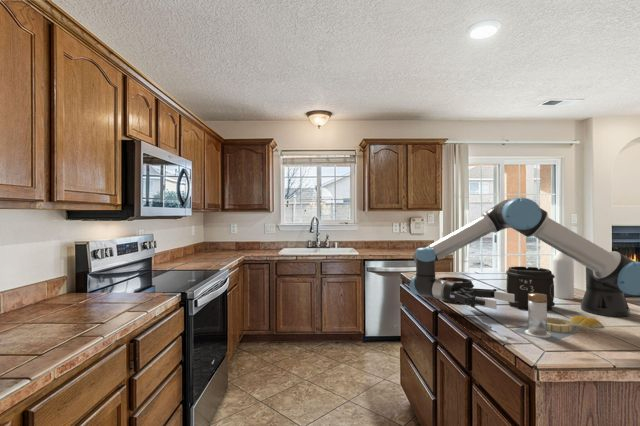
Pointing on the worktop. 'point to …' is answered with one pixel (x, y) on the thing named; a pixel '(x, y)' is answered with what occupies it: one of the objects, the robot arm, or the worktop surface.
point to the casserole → (459, 281)
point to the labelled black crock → (529, 285)
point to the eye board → (554, 334)
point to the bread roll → (586, 321)
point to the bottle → (563, 276)
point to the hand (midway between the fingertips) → (505, 301)
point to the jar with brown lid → (537, 314)
